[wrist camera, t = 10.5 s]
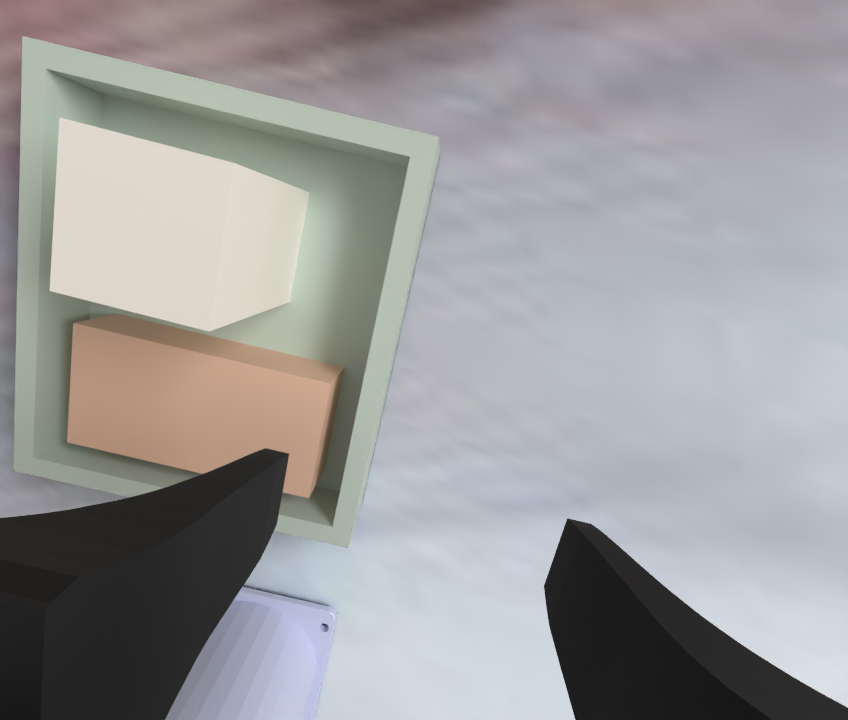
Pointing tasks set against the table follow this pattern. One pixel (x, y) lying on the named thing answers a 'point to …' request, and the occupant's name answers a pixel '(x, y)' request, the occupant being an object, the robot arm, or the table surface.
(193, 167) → the carton
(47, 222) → the tote
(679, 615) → the robot arm
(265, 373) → the cracker box
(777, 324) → the table surface
